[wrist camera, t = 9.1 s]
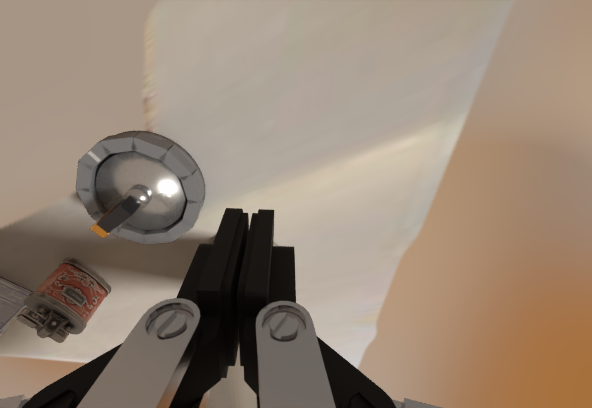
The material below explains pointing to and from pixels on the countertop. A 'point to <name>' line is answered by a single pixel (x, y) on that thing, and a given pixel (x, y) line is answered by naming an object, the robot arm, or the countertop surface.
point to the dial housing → (157, 149)
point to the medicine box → (10, 303)
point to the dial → (138, 193)
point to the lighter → (64, 301)
